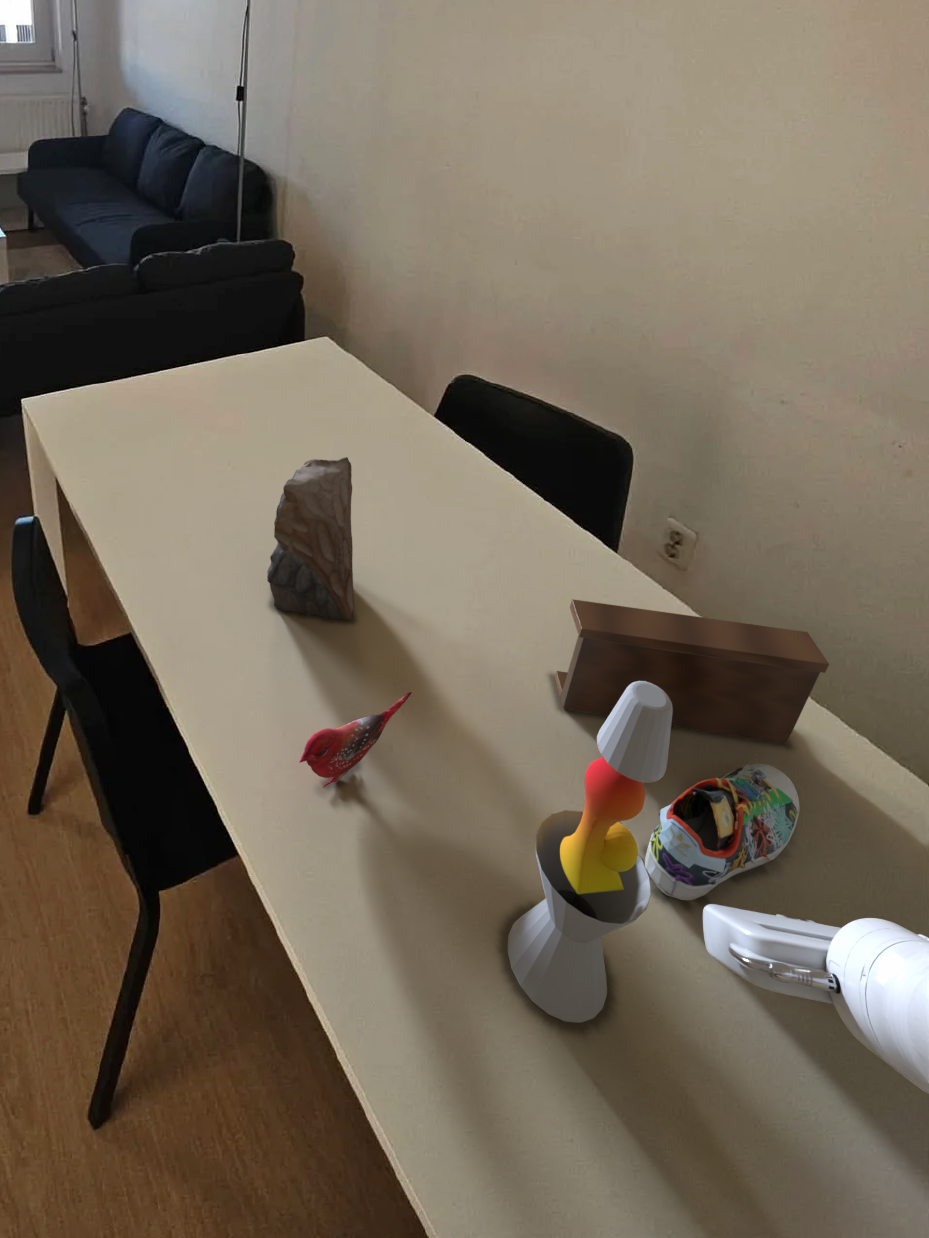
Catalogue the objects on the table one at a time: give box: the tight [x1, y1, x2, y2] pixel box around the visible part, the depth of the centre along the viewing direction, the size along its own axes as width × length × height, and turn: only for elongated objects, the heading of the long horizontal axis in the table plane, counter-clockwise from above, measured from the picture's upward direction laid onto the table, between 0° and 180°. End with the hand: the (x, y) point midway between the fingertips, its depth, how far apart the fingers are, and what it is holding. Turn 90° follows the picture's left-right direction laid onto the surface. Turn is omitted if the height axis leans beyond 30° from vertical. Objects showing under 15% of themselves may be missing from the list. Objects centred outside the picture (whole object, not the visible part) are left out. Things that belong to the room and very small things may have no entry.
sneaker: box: [644, 763, 800, 901], centre depth 79 cm, size 8×21×10 cm, turn 118°
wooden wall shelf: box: [554, 598, 830, 745], centre depth 93 cm, size 27×5×13 cm, turn 81°
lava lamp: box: [507, 681, 673, 1024], centre depth 63 cm, size 9×9×35 cm
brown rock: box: [266, 456, 355, 621], centre depth 110 cm, size 13×13×20 cm
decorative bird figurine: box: [299, 691, 413, 789], centre depth 86 cm, size 3×18×10 cm, turn 126°
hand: (793, 927), depth 68 cm, fingers closed
